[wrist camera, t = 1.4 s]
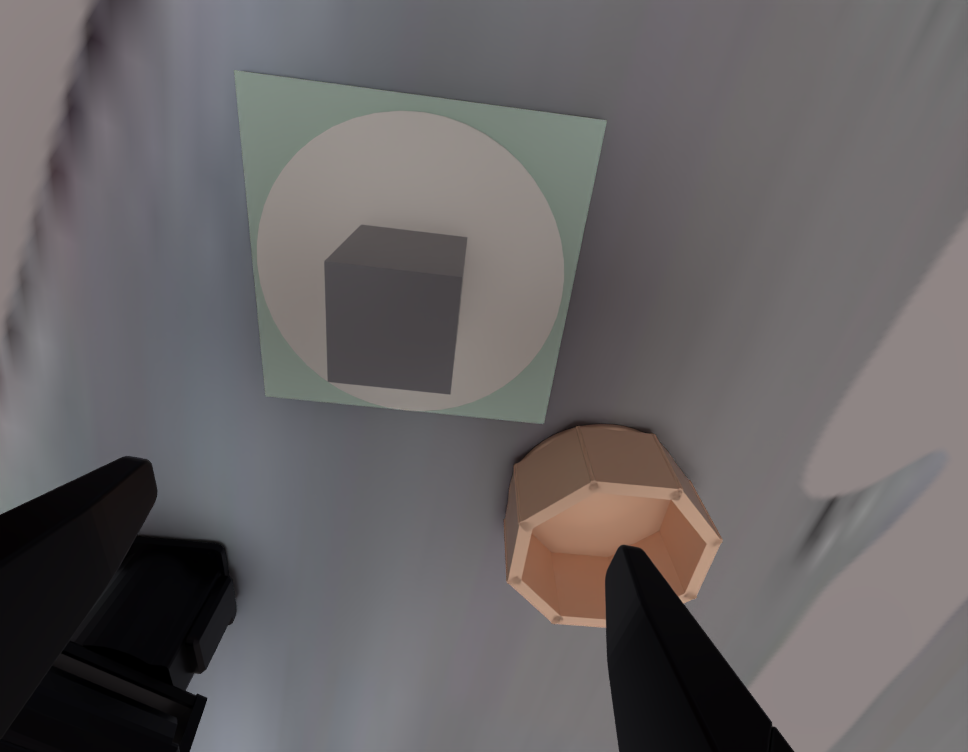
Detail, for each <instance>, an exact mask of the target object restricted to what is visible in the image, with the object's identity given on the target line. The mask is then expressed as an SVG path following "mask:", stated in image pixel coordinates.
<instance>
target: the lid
mask: <svg viewBox="0 0 968 752" xmlns="http://www.w3.org/2000/svg"><path fill="white" fill-rule="evenodd" d="M257 266H258V273H259V279H260V285H261V288H262V291H263V295H264V298H265V302H266V304H267V307H268V309H269V311H270V313H271V316H272V318H273V320H274V322H275V324H276V325H277V327H278V329H279V331H280V332H281V334H282V336H283V337H284V339H285V340H286V341H287V343H288V344H289V345H290V347H291V348H292V349H293V351H294V352H295V353H296V354H297V355H298V356H299V357H300V358H301V359H302V360H303V361H304V362H305V363H306V365H307V366H309V367H310V368H311V369H312V370H313V371H315V372H316V373H317V374H318V375H319V376H320V377H322V378H323V379H325V380H326V381H328V382H329V383H331V384H332V385H334V386H335V387H337V388H338V389H340V390H342V391H344V392H346V393H348V394H350V395H352V396H354V397H356V398H359V399H361V400H364V401H366V402H369V403H372V404H376V405H380V406H383V407H387V408H393V409H399V410H408V411H432V410H442V409H448V408H454V407H458V406H461V405H465V404H468V403H471V402H474V401H476V400H479V399H481V398H483V397H486V396H488V395H490V394H492V393H493V392H495V391H497V390H498V389H500V388H502V387H503V386H505V385H506V384H507V383H509V382H510V381H511V380H513V379H514V378H515V377H516V376H518V375H519V374H520V373H521V372H522V371H523V370H524V369H525V368H526V367H527V366H528V365H529V364H530V363H531V361H532V360H533V359H534V357H535V356H536V355H537V353H538V352H539V351H540V350H541V348H542V346H543V345H544V343H545V341H546V339H547V338H548V336H549V334H550V332H551V330H552V327H553V325H554V322H555V320H556V318H557V314H558V311H559V307H560V303H561V299H562V292H563V284H564V257H563V250H562V243H561V238H560V235H559V231H558V228H557V224H556V221H555V218H554V216H553V214H552V211H551V209H550V207H549V204H548V202H547V200H546V198H545V197H544V195H543V193H542V192H541V190H540V188H539V187H538V185H537V184H536V182H535V180H534V179H533V178H532V176H531V175H530V174H529V173H528V171H527V170H526V169H525V168H524V166H523V165H522V164H521V163H520V162H519V161H518V160H517V159H516V158H515V157H514V156H513V155H512V154H511V153H510V152H509V151H508V150H507V149H506V148H505V147H503V146H502V145H500V144H499V143H498V142H496V141H495V140H493V139H492V138H491V137H489V136H488V135H486V134H485V133H483V132H481V131H479V130H477V129H475V128H473V127H471V126H469V125H468V124H465V123H462V122H460V121H457V120H454V119H451V118H449V117H446V116H441V115H436V114H432V113H427V112H418V111H390V112H379V113H372V114H368V115H364V116H360V117H356V118H352V119H350V120H348V121H345V122H343V123H340V124H338V125H335V126H333V127H331V128H330V129H328V130H326V131H325V132H323V133H321V134H320V135H318V136H316V137H315V138H313V139H312V140H311V141H310V142H309V143H307V144H306V145H305V146H304V147H303V148H301V149H300V150H299V151H298V152H297V153H296V154H295V155H294V156H293V158H292V159H291V160H290V161H289V162H288V163H287V165H286V166H285V167H284V168H283V170H282V171H281V173H280V174H279V176H278V178H277V179H276V181H275V182H274V184H273V186H272V188H271V190H270V192H269V195H268V197H267V199H266V202H265V204H264V207H263V211H262V215H261V219H260V223H259V229H258V238H257Z"/></svg>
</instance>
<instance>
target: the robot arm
mask: <svg viewBox="0 0 968 752" xmlns="http://www.w3.org/2000/svg"><path fill="white" fill-rule="evenodd" d="M156 498H157V486H156V481H155V476H154V471H153V467H152V463H151V462H150V461H149V460H147V459H143V458H138V457H132V456H125V457H122V458H119V459H117V460H115V461H113V462H111V463H109V464H107V465H104V466H102V467H100V468H98V469H96V470H94V471H92V472H90V473H88V474H85V475H83V476H81V477H79V478H77V479H75V480H73V481H71V482H68V483H66V484H64V485H62V486H60V487H58V488H56V489H54V490H52V491H49V492H47V493H45V494H43V495H41V496H39V497H37V498H35V499H32V500H30V501H28V502H26V503H24V504H22V505H20V506H18V507H16V508H13V509H11V510H9V511H7V512H5V513H3V514H1V515H0V752H190V749H191V746H192V743H193V740H194V737H195V734H196V731H197V728H198V725H199V722H200V719H201V716H202V713H203V710H204V707H205V704H206V702H207V698H206V697H204V696H202V695H200V694H197V695H194V694H192V693H189V692H187V691H186V689H187V687H188V685H189V683H190V681H191V679H192V677H193V675H194V673H196V674H201V673H202V672H204V671H205V670H206V669H207V667H208V665H209V663H210V661H211V659H212V657H213V655H214V652H215V650H216V648H217V646H218V644H219V642H220V640H221V638H222V636H223V634H224V632H225V630H226V628H227V626H228V625H230V624H232V623H233V621H234V619H235V616H236V613H235V610H236V600H235V594H234V588H233V582H232V579H231V577H230V576H229V571H228V565H227V559H226V553H225V549H224V548H223V547H222V546H221V545H219V544H215V543H205V542H193V541H181V540H169V539H157V538H145V537H136V536H137V534H138V532H139V531H140V529H141V527H142V525H143V523H144V522H145V520H146V518H147V516H148V514H149V513H150V511H151V509H152V507H153V505H154V503H155V501H156ZM605 605H606V642H607V662H608V672H609V680H610V687H611V694H612V702H613V709H614V717H615V724H616V732H617V739H618V746H619V752H794V751H793V749H792V748H791V747H790V745H789V744H788V743H787V741H786V740H785V739H784V737H783V736H782V735H781V733H780V732H779V731H778V729H777V728H776V727H772V722H771V720H770V719H769V718H768V716H767V715H766V713H765V712H764V711H763V709H762V708H761V707H760V705H759V704H758V703H757V701H756V700H755V699H754V697H753V696H752V695H751V693H750V692H749V691H748V689H747V688H746V687H745V685H744V684H743V683H742V681H741V680H740V679H739V677H738V676H737V675H736V673H735V672H734V671H733V669H732V668H731V667H730V665H729V664H728V663H727V661H726V660H725V659H724V657H723V656H722V655H721V653H720V652H719V650H718V649H717V648H716V646H715V645H714V644H713V642H712V641H711V640H710V638H709V637H708V636H707V634H706V633H705V632H704V630H703V629H702V628H701V626H700V625H699V624H698V622H697V621H696V620H695V618H694V617H693V616H692V614H691V613H690V612H689V610H688V609H687V608H686V606H685V605H684V604H683V602H682V601H681V600H680V598H679V597H678V596H677V594H676V593H675V592H674V590H673V589H672V588H671V586H670V585H669V583H668V582H667V581H666V579H665V578H664V577H663V575H662V574H661V573H660V571H659V570H658V569H657V567H656V566H655V565H654V563H653V562H652V561H651V559H650V558H649V557H648V555H647V554H646V553H645V551H644V550H642V549H641V548H639V547H635V546H629V545H620V546H619V547H618V549H617V551H616V553H615V555H614V557H613V559H612V561H611V563H610V565H609V567H608V569H607V571H606V576H605Z"/></svg>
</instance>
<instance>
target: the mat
mask: <svg viewBox="0 0 968 752" xmlns="http://www.w3.org/2000/svg"><path fill="white" fill-rule="evenodd" d="M234 75H235V85H236V96H237V106H238V116H239V127H240V137H241V148H242V158H243V168H244V179H245V189H246V200H247V210H248V220H249V231H250V241H251V252H252V262H253V273H254V283H255V293H256V304H257V314H258V325H259V335H260V345H261V356H262V366H263V377H264V387H265V396H267V397H277V398H287V399H297V400H307V401H317V402H327V403H337V404H347V405H357V406H367V407H377V408H387V407H383V406H380V405H376V404H372V403H369V402H366V401H364V400H361V399H359V398H356V397H354V396H352V395H350V394H348V393H346V392H344V391H342V390H340V389H338V388H337V387H335V386H334V385H332V384H331V383H329V382H328V381H326V380H325V379H323V378H322V377H320V376H319V375H318V374H317V373H316V372H315V371H313V370H312V369H311V368H310V367H309V366H307V365H306V363H305V362H304V361H303V360H302V359H301V358H300V357H299V356H298V355H297V354H296V353H295V352H294V351H293V349H292V348H291V347H290V345H289V344H288V343H287V341H286V340H285V339H284V337H283V336H282V334H281V332H280V331H279V329H278V327H277V325H276V324H275V322H274V320H273V318H272V316H271V313H270V311H269V309H268V307H267V304H266V302H265V298H264V295H263V291H262V288H261V285H260V279H259V273H258V266H257V238H258V229H259V223H260V219H261V215H262V211H263V207H264V204H265V202H266V199H267V197H268V195H269V192H270V190H271V188H272V186H273V184H274V182H275V181H276V179H277V178H278V176H279V174H280V173H281V171H282V170H283V168H284V167H285V166H286V165H287V163H288V162H289V161H290V160H291V159H292V158H293V156H294V155H295V154H296V153H297V152H298V151H299V150H300V149H301V148H303V147H304V146H305V145H306V144H307V143H309V142H310V141H311V140H312V139H313V138H315V137H316V136H318V135H320V134H321V133H323V132H325V131H326V130H328V129H330V128H331V127H333V126H335V125H338V124H340V123H343V122H345V121H348V120H350V119H352V118H356V117H360V116H364V115H368V114H372V113H379V112H390V111H418V112H427V113H432V114H436V115H441V116H446V117H449V118H451V119H454V120H457V121H460V122H462V123H465V124H468V125H469V126H471V127H473V128H475V129H477V130H479V131H481V132H483V133H485V134H486V135H488V136H489V137H491V138H492V139H493V140H495V141H496V142H498V143H499V144H500V145H502V146H503V147H505V148H506V149H507V150H508V151H509V152H510V153H511V154H512V155H513V156H514V157H515V158H516V159H517V160H518V161H519V162H520V163H521V164H522V165H523V166H524V168H525V169H526V170H527V171H528V173H529V174H530V175H531V176H532V178H533V179H534V180H535V182H536V184H537V185H538V187H539V188H540V190H541V192H542V193H543V195H544V197H545V198H546V200H547V202H548V204H549V207H550V209H551V211H552V214H553V216H554V218H555V221H556V224H557V228H558V231H559V235H560V238H561V243H562V250H563V257H564V284H563V292H562V299H561V303H560V307H559V311H558V314H557V318H556V320H555V322H554V325H553V327H552V330H551V332H550V334H549V336H548V338H547V339H546V341H545V343H544V345H543V346H542V348H541V350H540V351H539V352H538V353H537V355H536V356H535V357H534V359H533V360H532V361H531V363H530V364H529V365H528V366H527V367H526V368H525V369H524V370H523V371H522V372H521V373H520V374H519V375H518V376H516V377H515V378H514V379H513V380H511V381H510V382H509V383H507V384H506V385H505V386H503V387H502V388H500V389H498V390H497V391H495V392H493V393H492V394H490V395H488V396H486V397H483V398H481V399H479V400H476V401H474V402H471V403H468V404H465V405H461V406H458V407H454V408H448V409H442V410H432V411H417V412H427V413H437V414H447V415H457V416H467V417H477V418H487V419H497V420H507V421H517V422H527V423H537V424H544V421H545V416H546V412H547V407H548V402H549V397H550V392H551V388H552V383H553V378H554V373H555V368H556V363H557V359H558V354H559V349H560V344H561V339H562V335H563V330H564V325H565V320H566V315H567V311H568V306H569V301H570V296H571V291H572V286H573V282H574V277H575V272H576V267H577V262H578V258H579V253H580V248H581V243H582V238H583V234H584V229H585V224H586V219H587V214H588V209H589V205H590V200H591V195H592V190H593V185H594V181H595V176H596V171H597V166H598V161H599V157H600V152H601V147H602V142H603V137H604V132H605V128H606V123H607V120H601V119H594V118H586V117H579V116H571V115H564V114H557V113H549V112H542V111H534V110H527V109H519V108H512V107H504V106H497V105H490V104H482V103H475V102H467V101H460V100H452V99H445V98H437V97H430V96H423V95H415V94H408V93H400V92H393V91H385V90H378V89H370V88H363V87H356V86H348V85H341V84H333V83H326V82H318V81H311V80H304V79H296V78H289V77H281V76H274V75H266V74H259V73H251V72H244V71H236V70H234ZM387 409H393V408H387ZM397 410H399V409H397ZM407 411H408V410H407Z"/></svg>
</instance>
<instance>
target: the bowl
mask: <svg viewBox="0 0 968 752" xmlns="http://www.w3.org/2000/svg"><path fill="white" fill-rule="evenodd" d="M513 467H514V472H513V476H512V478H511V482H510V486H509V494H508V505H507V510H506V516H505V519H504V538H505V560H506V581H507V584H510V585H511V586H512V587H513V588H514V589H515V590H517V591H518V592H519V593H520V594H521V595H522V596H523V597H524V598H525V599H527V600H528V601H529V602H530V603H531V604H532V605H533V606H534V607H535V608H537V609H538V610H539V611H540V612H541V613H542V614H543V615H544V616H545V617H546V618H548V619H549V620H550V621H551V623H552V624H565V625H578V626H590V627H603V628H606V605H605V576H606V571H607V569H608V567H609V565H610V563H611V561H612V559H613V557H614V555H615V553H616V551H617V549H618V547H619V546H620V545H629V546H635V547H639V548H641V549H642V550H644V551H645V553H646V554H647V555H648V557H649V558H650V559H651V561H652V562H653V563H654V565H655V566H656V567H657V569H658V570H659V571H660V573H661V574H662V575H663V577H664V578H665V579H666V581H667V582H668V583H669V585H670V586H671V588H672V589H673V590H674V592H675V593H676V594H677V596H678V597H679V598H680V600H681V601H682V602H683V603H686V602H688V601H690V600H692V599H695V598H696V597H697V594H698V591H699V589H700V587H701V585H702V583H703V581H704V579H705V576H706V574H707V572H708V570H709V568H710V566H711V563H712V561H713V559H714V557H715V555H716V553H717V550H718V548H719V546H720V544H721V543H722V538H721V536H720V534H719V532H718V530H717V529H716V527H715V525H714V523H713V521H712V519H711V518H710V516H709V514H708V512H707V510H706V508H705V506H704V505H703V503H702V501H701V499H700V497H699V495H698V494H697V492H696V490H695V488H694V486H693V484H692V483H691V481H690V480H688V479H687V477H686V476H685V475H684V473H683V472H682V471H681V469H680V468H679V467H678V466H677V464H676V463H675V461H674V460H673V458H672V456H671V455H670V453H669V452H668V451H667V450H666V449H665V447H664V446H663V445H662V444H661V443H660V442H659V441H658V439H657V437H656V435H655V434H653V433H651V434H648V433H643V432H641V431H638V430H636V429H633V428H629V427H626V426H620V425H614V424H592V425H584V426H576V427H575V428H571V429H568V430H565V431H562V432H560V433H557V434H555V435H553V436H551V437H549V438H547V439H546V440H544V441H542V442H541V443H540V444H538V445H537V446H535V447H534V448H533V449H532V450H531V451H530V452H529V453H528V454H527V455H526V456H525V457H524V458H523V459H522V461H520V462H519V463H517V464H515V465H514V466H513Z"/></svg>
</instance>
